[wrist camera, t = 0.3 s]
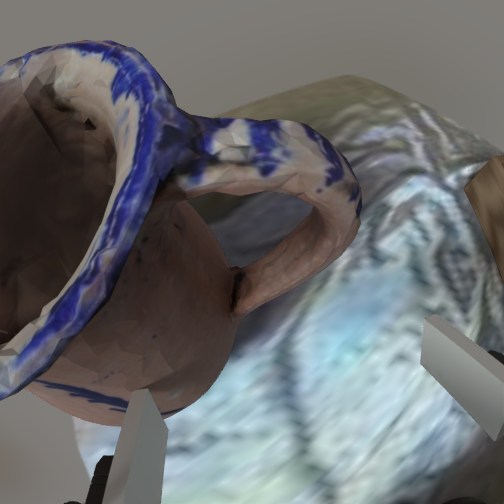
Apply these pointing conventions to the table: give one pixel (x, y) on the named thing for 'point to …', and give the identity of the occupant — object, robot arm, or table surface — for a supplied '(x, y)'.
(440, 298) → the table surface
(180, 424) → the table surface
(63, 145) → the ceramic pitcher
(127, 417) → the robot arm
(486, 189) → the walnut tray
